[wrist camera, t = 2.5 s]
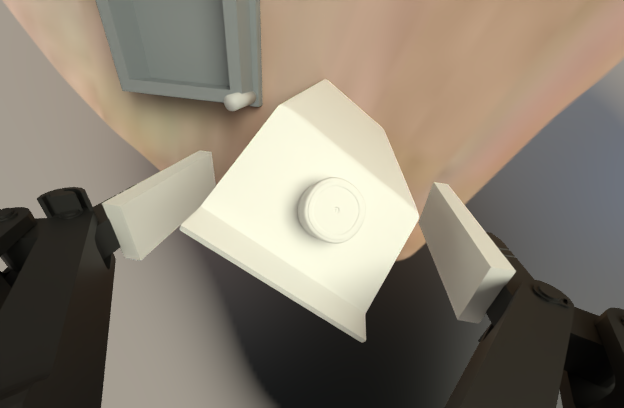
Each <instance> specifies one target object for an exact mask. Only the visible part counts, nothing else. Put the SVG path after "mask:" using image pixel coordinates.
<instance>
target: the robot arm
mask: <svg viewBox="0 0 624 408" xmlns="http://www.w3.org/2000/svg"><path fill="white" fill-rule="evenodd" d="M215 187H216V182H215V175H214V167H213V160H212V152H208V151H201V150H199V151H197V152H196V153H194V154H192V155H190V156H188V157H186V158H184V159H183V160H181V161H179V162H177V163H175V164H173V165H172V166H170V167H168V168H166V169H164V170H162V171H160V172H159V173H157V174H155V175H153V176H151V177H149V178H148V179H146V180H144V181H142V182H140V183H138V184H136V185H133V186H132V187H130V188H128V189H126V190H125V191H122V192H120V193H119V194H118V195H115V196H113V197H111V198H109V199H107V200H106V201H104V202H102V203H100V204H98V205H96V206H94V207H92V205H91V202H90V200H89V198H88V196H87V194H86V191H85V190H84V189H82V188H78V187H77V188H76V187H70V188H62V189H57V190H53V191H50V192H47V193H45V194H43V195H41V196H40V197H38V198H37V200H38V202H39V204H40V205H41V207H42V209H43V211H44V212H45V214H46V216H47V218H39V219H35V218H34V217H33V215H32V214H31V212H30V211H29V209H28V208H24V207H15V208H5V209H2V210H1V209H0V257H1V258H2V260H3V261H4V262H5V264H6V265H7V266H8V267H7V268H6V269H5V270H4V271H3V272H1V271H0V408H101V401H102V391H103V381H104V371H105V361H106V351H107V340H108V331H109V321H110V311H111V301H112V291H113V280H114V271H115V256H114V254H113V252H115V251H116V250H117V249H118V248H121V250H122V253H123V255H124V258H128V259H133V260H139V261H141V260H142V259H143V258H145V256H147V255H148V254H149V253H150V252H151V251H152V250H153V249H155V248H156V247H157V246H158V245H159V244H160V243H161V242H162V241H163V240H164V239H165V238H167V237H168V236H169V235H170V234H171V233H172V232H173V231H174V230H175V229H177V227H179V226H180V225H181V224H182V223H183V222H184V221H185V220H186V219H187V218H188V217H189V216H191V215H192V214H193V213H194V212H195V211H196V210H197V209H198V208H199V207H200V206H201V205H202V204H203V202H204V201H205V200H206V198H207V197H208V196H209V194H210V193H211V192H212V191H213V189H214V188H215ZM418 223H419V225H420V227H421V230H422V232H423V235H424V237H425V240H426V242H427V245H428V247H429V250H430V252H431V255H432V257H433V260H434V262H435V264H436V267H437V269H438V272H439V274H440V277H441V279H442V282H443V284H444V287H445V289H446V292H447V294H448V297H449V299H450V302H451V304H452V307H453V309H454V312H455V314H456V316H457V319H458V320H462V321H468V322H474V323H480V321H481V320H482V318H483V317H484V316H485V314H486V313H487V315H488V317H489V319H490V321H491V324H490V326H489V327H488V328H487V330H486V331H485V332H484V334H483V335H482V336H481V338H480V339H479V340H478V341H479V342H480V343H479V345H478V346H477V348H476V350H475V352H474V354H473V356H472V357H471V359H470V361H469V363H468V365H467V367H466V368H465V370H464V372H463V374H462V376H461V378H460V380H459V381H458V383H457V385H456V387H455V389H454V391H453V392H452V394H451V396H450V398H449V400H448V401H447V403H446V405H445V407H444V408H556V405H557V400H558V394H559V389H560V394H561V399H562V405H563V408H624V310H623V309H620V308H609V309H607V310H606V311H605V312H604V313H603V314H601V315H600V316H598V315H595V314H592V313H589V312H587V311H584V310H581V309H579V308H576V307H574V304H573V303H572V301H571V300H570V299H569V298H568V297H567V296H566V295H565V294H563V293H562V292H561V291H560V290H558V289H556V288H555V287H553V286H551V285H549V284H547V283H544V282H542V281H538V280H534V279H533V277H532V276H531V275H530V274H529V273H528V271H527V270H526V269H525V268H524V267H523V265H522V264H521V263H520V262H519V261H518V260H517V258H514V255H513V254H512V252H511V251H509V249H508V248H507V247H506V245H505V244H504V243H503V242H502V241H501V240H500V239H499V238H497V237H496V236H495V235H493V234H492V233H488V232H485V231H484V230H483V228H482V227H481V226H480V224H479V223H478V222H477V221H476V219H475V218H474V217H473V216H472V214H471V213H470V212H469V210H468V209H467V208H466V207H465V205H464V204H463V203H462V202H461V200H460V199H459V198H458V196H457V195H456V194H455V193H454V191H453V190H452V189H451V188H450V186H449V185H448V184H444V183H436V182H433V185H432V188H431V190H430V193H429V196H428V198H427V201H426V204H425V206H424V209H423V212H422V214H421V217H420V220H419V222H418Z"/></svg>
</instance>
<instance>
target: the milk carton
mask: <svg viewBox="0 0 624 408" xmlns="http://www.w3.org/2000/svg"><path fill="white" fill-rule="evenodd" d="M418 219H419V214H418V211H417V208H416V205H415V203H414V200H413V198H412V195H411V193H410V191H409V188H408V186H407V184H406V181H405V179H404V176H403V174H402V172H401V169H400V167H399V164H398V162H397V160H396V157H395V155H394V152H393V150H392V148H391V145H390V143H389V140H388V138H387V136H386V133H385V131H384V129H383V128H382V127H381V126H380V125H379V124H378V123H377V122H375V121H374V120H373V119H372V118H371V117H370V116H369V115H367V114H366V113H365V112H364V111H363V110H362V109H361V108H359V107H358V106H357V105H356V104H355V103H354V102H353V101H351V100H350V99H349V98H348V97H347V96H346V95H345V94H343V93H342V92H341V91H340V90H339V89H338V88H337V87H335V86H334V85H333V84H332V83H331V82H330V81H328V80H327V79H324V80H322V81H320V82H319V83H317V84H315V85H313V86H312V87H310V88H308V89H306V90H304V91H303V92H301V93H299V94H297V95H296V96H294V97H292V98H290V99H289V100H287V101H285V102H284V103H282V104H280V105H279V106H278V107H277V108H276V110H275V111H274V112H273V113H272V115H271V116H270V117H269V119H268V120H267V121H266V122H265V124H264V125H263V126H262V128H261V129H260V130H259V131H258V133H257V134H256V135H255V137H254V138H253V139H252V140H251V142H250V143H249V144H248V146H247V147H246V148H245V149H244V151H243V152H242V153H241V155H240V156H239V157H238V158H237V160H236V161H235V162H234V164H233V165H232V166H231V167H230V169H229V170H228V171H227V173H226V174H225V175H224V176H223V178H222V179H221V180H220V182H219V183H218V184H217V185H216V187H215V188H214V189H213V191H212V192H211V193H210V194H209V196H208V197H207V198H206V200H205V201H204V202H203V204H202V205H201V206H200V207H199V208H198V209H197V210H196V211H195V212H194V213H193V214H192V215H191V216H189V217H188V218H187V219H186V220H185V221H184V222H183V223H182V224H181V226H180V231H182V232H183V233H185V234H187V235H189V236H190V237H192V238H193V239H195V240H196V241H198V242H200V243H201V244H203V245H204V246H206V247H208V248H209V249H211V250H213V251H214V252H216V253H217V254H219V255H221V256H222V257H224V258H226V259H227V260H229V261H230V262H232V263H234V264H235V265H237V266H238V267H240V268H242V269H243V270H245V271H247V272H248V273H250V274H251V275H253V276H255V277H256V278H258V279H260V280H261V281H263V282H265V283H266V284H268V285H269V286H271V287H273V288H274V289H276V290H278V291H279V292H281V293H282V294H284V295H285V296H287V297H289V298H290V299H292V300H294V301H295V302H297V303H299V304H300V305H302V306H303V307H305V308H307V309H308V310H310V311H311V312H313V313H315V314H316V315H318V316H319V317H321V318H323V319H324V320H326V321H328V322H329V323H331V324H332V325H334V326H336V327H337V328H339V329H341V330H342V331H344V332H345V333H347V334H349V335H350V336H352V337H354V338H355V339H357V340H358V341H360V342H364V341H366V324H365V313H366V312H367V310H368V308H369V306H370V305H371V303H372V301H373V299H374V298H375V296H376V294H377V292H378V290H379V288H380V287H381V285H382V283H383V282H384V280H385V278H386V276H387V274H388V273H389V271H390V269H391V267H392V265H393V264H394V262H395V260H396V258H397V257H398V255H399V253H400V251H401V250H402V248H403V246H404V244H405V242H406V241H407V239H408V237H409V235H410V234H411V232H412V230H413V228H414V226H415V225H416V223H417V221H418Z"/></svg>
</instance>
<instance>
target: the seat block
mask: <svg viewBox="0 0 624 408" xmlns="http://www.w3.org/2000/svg"><path fill="white" fill-rule="evenodd" d="M96 3H97V7H98V10H99V13H100V17H101V20H102V23H103V27H104V30H105V33H106V37H107V40H108V43H109V47H110V50H111V53H112V57H113V60H114V63H115V67H116V70H117V74H118V77H119V80H120V84H121V87H122V90H123V91H129V92H137V93H143V94H152V95H160V96H169V97H178V98H186V99H195V100H204V101H212V102H221V103H224V105H225V107H226V108H227V109H228V110H230V111H235V110H238V109H240V108H243V107H245V106H256V107H260V106H262V68H261V28H260V0H96Z"/></svg>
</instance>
